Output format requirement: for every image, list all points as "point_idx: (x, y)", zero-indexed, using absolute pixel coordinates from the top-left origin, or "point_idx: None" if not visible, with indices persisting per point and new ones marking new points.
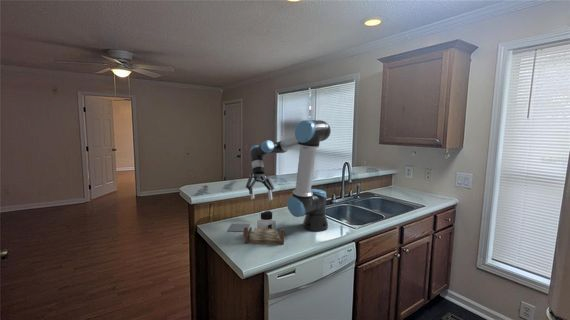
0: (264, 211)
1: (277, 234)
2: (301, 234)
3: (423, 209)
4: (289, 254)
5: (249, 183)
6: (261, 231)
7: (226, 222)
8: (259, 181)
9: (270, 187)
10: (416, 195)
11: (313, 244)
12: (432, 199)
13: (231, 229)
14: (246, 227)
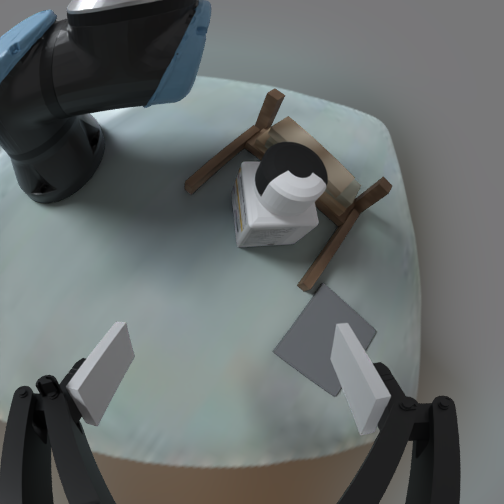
0: (306, 177)
1: (262, 143)
2: (154, 135)
3: None
4: (280, 90)
5: (446, 433)
6: (331, 155)
7: (339, 426)
8: None
9: (53, 411)
10: None
11: None
12: None
13: (362, 335)
14: (383, 187)
